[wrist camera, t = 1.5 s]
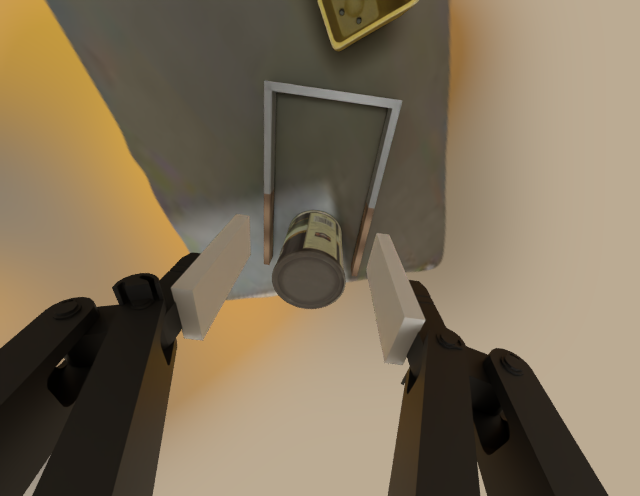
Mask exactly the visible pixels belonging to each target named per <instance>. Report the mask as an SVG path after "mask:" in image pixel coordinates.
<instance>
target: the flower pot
mask: <svg viewBox="0 0 640 496" xmlns="http://www.w3.org/2000/svg"><path fill="white" fill-rule="evenodd" d="M317 1H318V4H319V7H320V10H321V14H322V17H323V20H324V23H325V26H326V29H327V33H328V36H329V39H330V42H331V45H332V47H333V48H334V49H335V50H336V51H341V50H343V49H345V48H346V47H348V46H350V45H351V44H353V43H355V42H356V41H358V40H360V39H361V38H363V37H365V36H367V35H368V34H370V33H372V32H373V31H375V30H377V29H379V28H381V27H382V26H384V25H386V24H388V23H389V22H391V21H393V20H395V19H397V18H398V17H400V16H401V15H403V14H404V13H405V12H406V11H408V10H409V9H410V8H411V7H413V6H414V5H415V4H416V3H417V2H418V1H419V0H317ZM341 9H343V10H344V14H343V15H340V13H339V11H340V10H341ZM357 18H361V23H360V24H358V23H357Z"/></svg>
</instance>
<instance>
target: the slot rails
mask: <svg viewBox="0 0 640 496" xmlns="http://www.w3.org/2000/svg"><path fill="white" fill-rule="evenodd" d="M373 212H374V208H368V205H367V202H366V204H365V209H364V213H363V217H362V221H361V226H360V230H359V234H358V238H357V242H356V247H355V251H354V255H353V259H352V264H351V273H352V276H357V274H358V270H359V266H360V262H361V259H362V255H363V251H364V247H365V243H366V239H367V235H368V231H369V228H370V224H371V220H372V216H373ZM273 219H274V190H273V191H272V192H271V194H264V264H267V265H269V264H270V262H271V259H272V257H273Z"/></svg>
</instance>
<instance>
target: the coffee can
mask: <svg viewBox="0 0 640 496" xmlns="http://www.w3.org/2000/svg"><path fill="white" fill-rule="evenodd" d="M272 283H273V287H274V289H275V291H276V292H277V294H278V295H279V296H280V297H281V298H282V299H283V300H284V301H286V302H287V303H289V304H291V305H293V306H296V307H299V308H305V309H317V308H322V307H326V306H328V305H330V304H332V303H334V302H335V301H336V300H337V299H338V298H339V297H340V296H341V295H342V293H343V291H344V288H345V283H346V280H345V274H344V267H343V252H342V232H341V228H340V225H339V224H338V222H337V221H336V220H335V219H334V218H333V217H332V216H331V215H329V214H327V213H325V212H322V211H316V210H311V211H306V212H303V213H301V214H299V215H298V216H296V217H295V218H294V219H293V220H292V222H291V224H290V226H289V230H288V233H287V236H286V239H285V242H284V245H283V248H282V250H281V253H280V256H279V259H278V261H277V264H276V265H275V267H274V270H273V273H272Z"/></svg>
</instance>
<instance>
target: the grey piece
mask: <svg viewBox="0 0 640 496" xmlns="http://www.w3.org/2000/svg"><path fill="white" fill-rule="evenodd" d="M276 92H281V93H288V94H295V95H302V96H308V97H315V98H322V99H329V100H336V101H343V102H350V103H357V104H363V105H370V106H377V107H384V108H388V111H387V115H386V119H385V124H384V128H383V132H382V136H381V141H380V145H379V149H378V153H377V158H376V162H375V166H374V170H373V175H372V179H371V183H370V187H369V192H368V196H367V200H366V202H367V205H368V208H375V204H376V201H377V197H378V193H379V189H380V185H381V181H382V177H383V174H384V170H385V166H386V162H387V158H388V154H389V150H390V146H391V143H392V139H393V135H394V131H395V127H396V123H397V119H398V116H399V112H400V108H401V104H402V100H395V99H388V98H382V97H375V96H368V95H361V94H354V93H347V92H340V91H334V90H327V89H320V88H313V87H306V86H299V85H293V84H286V83H279V82H272V81H265V80H264V194H271V192H272V191H273V190H274V177H275V135H276Z"/></svg>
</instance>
